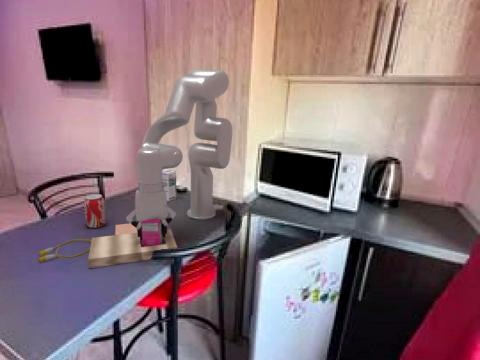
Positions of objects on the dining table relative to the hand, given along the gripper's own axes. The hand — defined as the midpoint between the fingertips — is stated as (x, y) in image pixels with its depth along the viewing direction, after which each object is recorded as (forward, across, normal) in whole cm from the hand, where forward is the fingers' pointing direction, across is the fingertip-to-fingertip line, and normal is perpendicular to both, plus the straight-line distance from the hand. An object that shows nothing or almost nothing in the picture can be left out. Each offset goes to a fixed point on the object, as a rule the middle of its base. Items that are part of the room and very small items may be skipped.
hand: (152, 236), depth 99 cm
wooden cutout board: (+4, +6, 0) cm, 7 cm away
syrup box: (+4, -12, -47) cm, 49 cm away
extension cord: (+5, +26, -6) cm, 28 cm away
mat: (+4, +5, -15) cm, 16 cm away
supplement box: (+5, 0, 0) cm, 5 cm away
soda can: (+5, +19, -24) cm, 31 cm away
